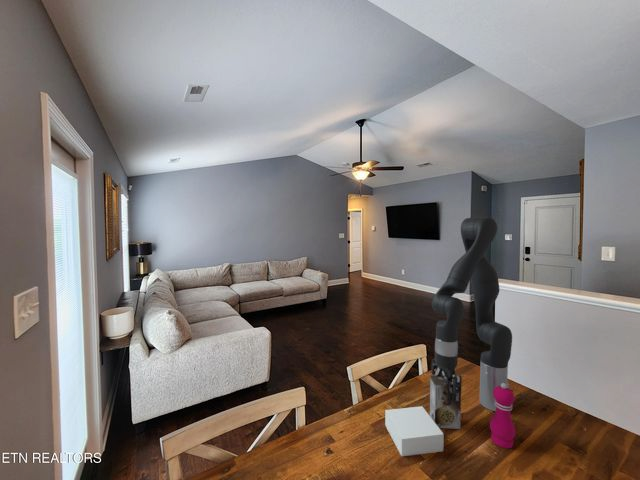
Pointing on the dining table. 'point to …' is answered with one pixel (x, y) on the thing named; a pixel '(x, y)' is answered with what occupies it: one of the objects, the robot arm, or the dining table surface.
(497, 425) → the pepper mill
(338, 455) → the dining table surface
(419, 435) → the riser block
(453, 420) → the coffee box
